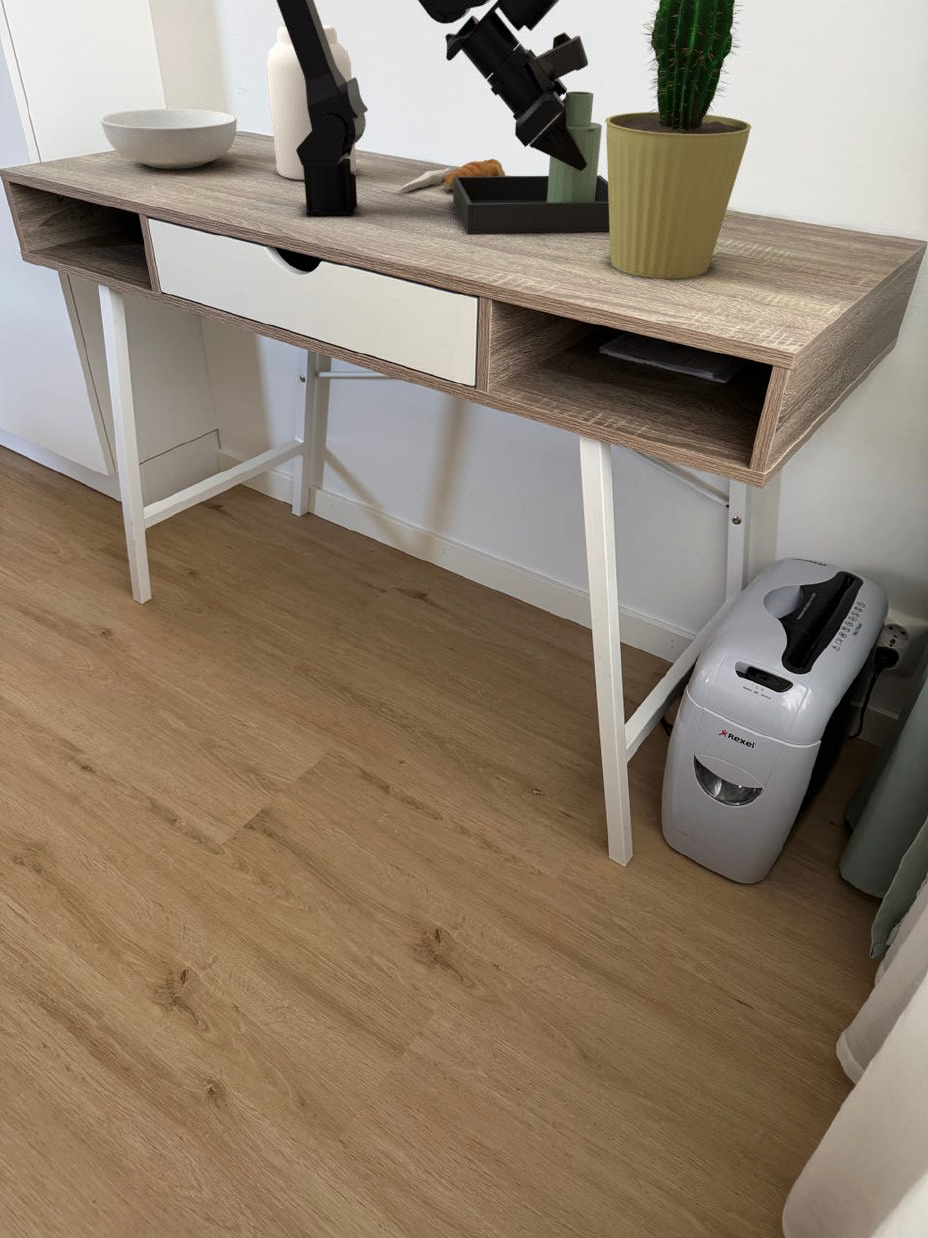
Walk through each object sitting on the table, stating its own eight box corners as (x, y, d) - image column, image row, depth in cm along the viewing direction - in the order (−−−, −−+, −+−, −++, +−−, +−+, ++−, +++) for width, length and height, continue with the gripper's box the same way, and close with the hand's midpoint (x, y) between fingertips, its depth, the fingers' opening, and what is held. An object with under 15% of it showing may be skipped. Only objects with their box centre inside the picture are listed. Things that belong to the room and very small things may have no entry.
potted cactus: (591, 244, 115) (618, -56, 97) (717, 249, 113) (768, -53, 96) (592, 280, 102) (624, -56, 84) (734, 286, 101) (796, -53, 83)
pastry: (461, 196, 135) (461, 168, 133) (433, 189, 139) (433, 161, 137) (510, 188, 140) (511, 161, 138) (481, 181, 144) (482, 154, 142)
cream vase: (280, 183, 141) (265, 27, 129) (274, 167, 151) (260, 21, 139) (362, 180, 143) (355, 27, 131) (351, 165, 153) (343, 21, 141)
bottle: (562, 223, 121) (572, 97, 112) (537, 213, 125) (545, 90, 117) (601, 219, 123) (614, 95, 115) (576, 209, 127) (586, 88, 119)
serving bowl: (226, 178, 143) (219, 128, 139) (91, 175, 143) (81, 125, 139) (252, 153, 160) (247, 108, 156) (132, 151, 160) (124, 106, 156)
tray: (467, 233, 118) (467, 204, 116) (453, 203, 132) (453, 176, 130) (629, 231, 120) (632, 202, 118) (598, 201, 134) (600, 175, 132)
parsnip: (441, 177, 147) (441, 164, 146) (456, 179, 146) (456, 166, 145) (392, 195, 136) (391, 181, 135) (407, 197, 135) (407, 183, 134)
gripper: (549, 12, 103) (637, 126, 109) (555, 3, 118) (631, 104, 124) (477, 90, 108) (564, 196, 114) (491, 73, 123) (567, 166, 129)
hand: (584, 162), depth 120 cm, fingers closed on bottle, 6 cm apart
